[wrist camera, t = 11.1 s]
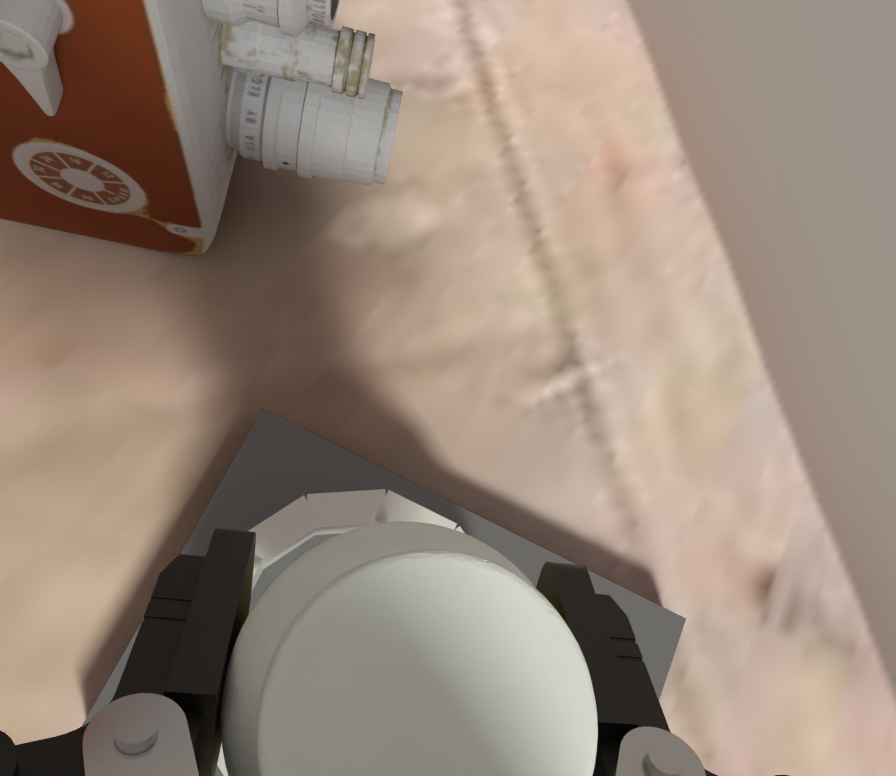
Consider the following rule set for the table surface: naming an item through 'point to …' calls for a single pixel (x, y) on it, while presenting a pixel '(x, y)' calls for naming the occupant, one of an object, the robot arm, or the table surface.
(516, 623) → the supplement bottle
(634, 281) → the table surface
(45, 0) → the cine camera
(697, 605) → the table surface
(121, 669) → the mount plate
